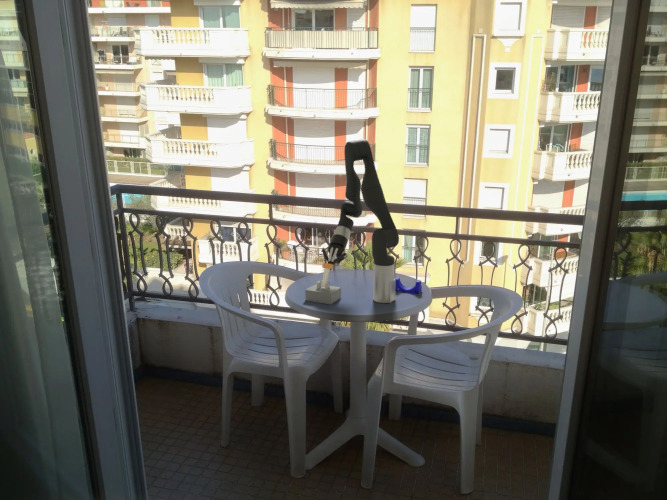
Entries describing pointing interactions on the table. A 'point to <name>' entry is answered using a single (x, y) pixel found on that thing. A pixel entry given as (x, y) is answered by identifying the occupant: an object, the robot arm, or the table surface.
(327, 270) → the lever
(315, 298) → the block
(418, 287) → the cable clip
